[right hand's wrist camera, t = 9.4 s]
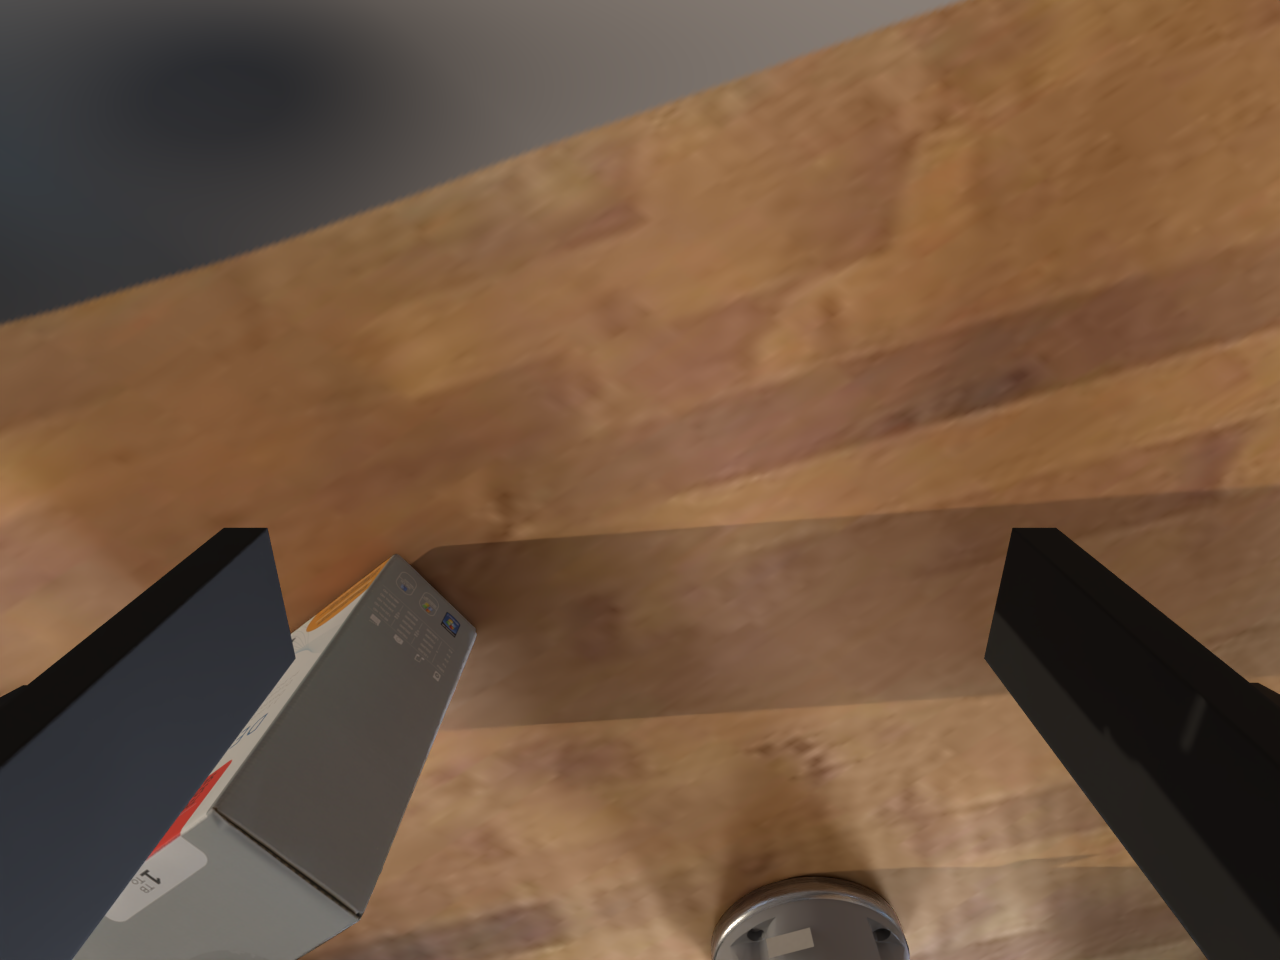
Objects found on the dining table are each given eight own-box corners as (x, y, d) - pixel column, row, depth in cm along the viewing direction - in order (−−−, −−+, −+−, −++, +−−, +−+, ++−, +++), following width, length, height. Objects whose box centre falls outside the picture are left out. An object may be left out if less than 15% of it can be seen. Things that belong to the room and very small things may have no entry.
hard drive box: (396, 546, 44) (217, 806, 25) (482, 629, 46) (375, 923, 27) (232, 675, 47) (-32, 986, 29) (318, 746, 49) (126, 1077, 31)
